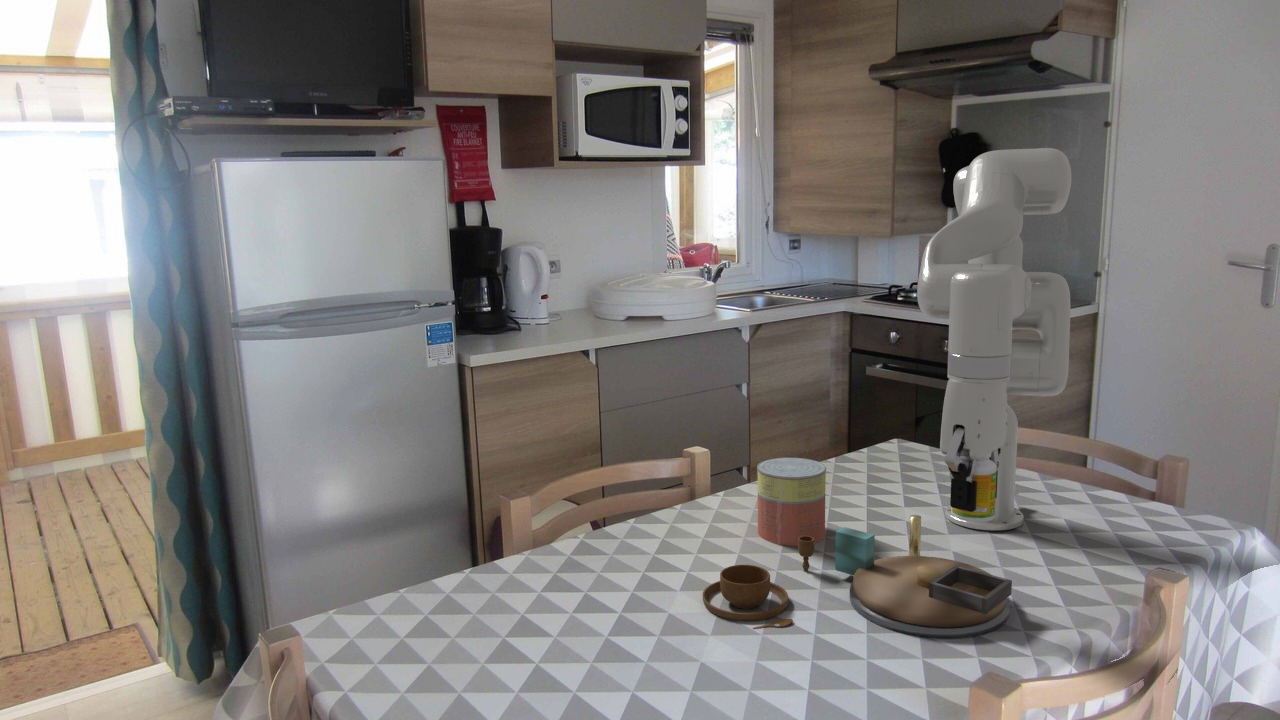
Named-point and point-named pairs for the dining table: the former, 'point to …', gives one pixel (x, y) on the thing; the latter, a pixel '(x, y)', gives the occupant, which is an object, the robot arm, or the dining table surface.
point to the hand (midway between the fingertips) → (973, 501)
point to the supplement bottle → (981, 491)
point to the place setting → (754, 589)
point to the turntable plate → (919, 585)
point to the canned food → (791, 500)
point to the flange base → (920, 629)
